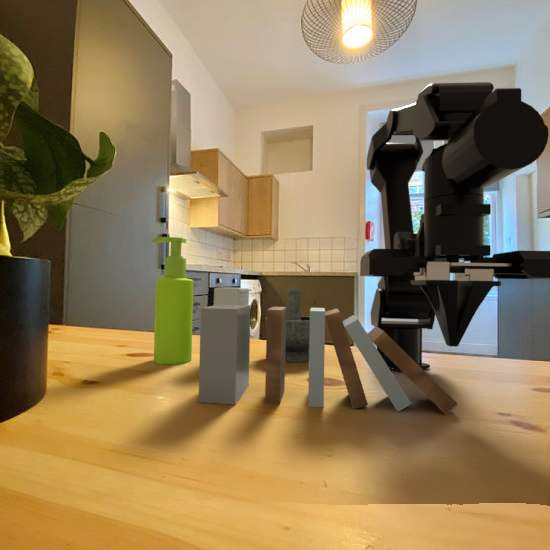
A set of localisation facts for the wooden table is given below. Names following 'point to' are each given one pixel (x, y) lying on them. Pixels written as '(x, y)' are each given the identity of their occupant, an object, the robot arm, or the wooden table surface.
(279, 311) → the domino
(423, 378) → the domino
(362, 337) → the domino
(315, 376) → the domino
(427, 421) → the wooden table surface
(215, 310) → the bookend
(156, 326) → the soap dispenser
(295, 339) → the mortar and pestle
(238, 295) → the skincare box
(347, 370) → the domino
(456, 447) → the wooden table surface
